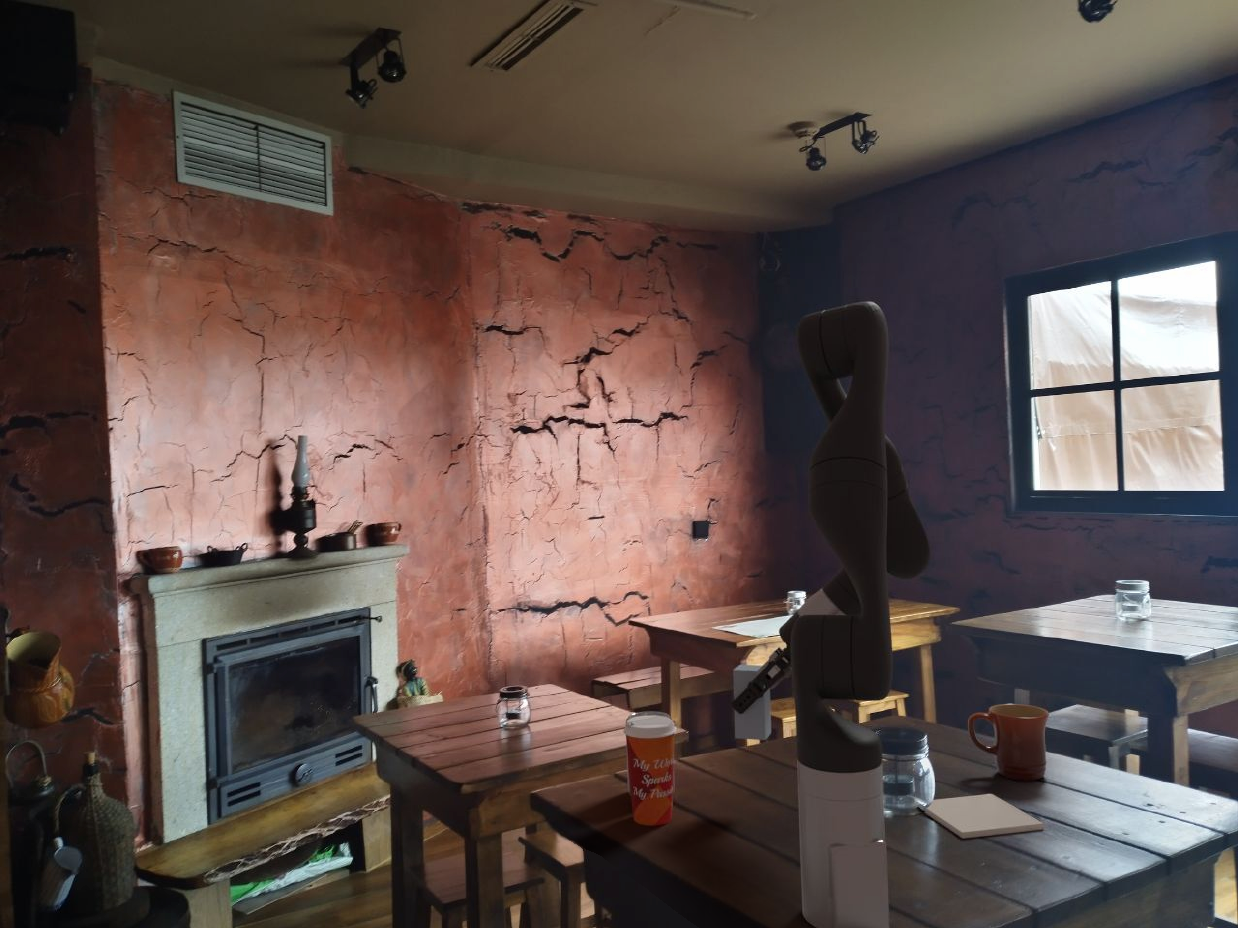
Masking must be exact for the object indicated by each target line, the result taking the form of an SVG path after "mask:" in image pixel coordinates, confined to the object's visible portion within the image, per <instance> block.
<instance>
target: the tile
mask: <svg viewBox="0 0 1238 928" xmlns="http://www.w3.org/2000/svg"><path fill="white" fill-rule="evenodd" d="M932 800H933V802H932V804H931V805H930V806H929V807H928V808H926V811H925V812H924V813H925V814H926V815H927V816H929V817H931V818H932V819H933V820H935V821H936V822H938V823H940V824H941V825H942V826H943V827H945V828H947V829H948V830H950V832H953V833H954V834H956V835H957V836H958V837H960V838H961V839H963V840H964V839H970V838H972V839H973V838H979V837H980V838H981V837H988V836H989V837H990V836H998V835H1006V834H1007V835H1008V834H1014V833H1022V832H1023V833H1024V832H1025V833H1026V832H1032V831H1040V830H1041V831H1042V830H1044V829H1045V828H1044V823H1043V822H1042V821H1040V820H1038V819H1036V818H1035V817H1033V816H1031V815H1029V814H1028V813H1026V812H1024V811H1022V810H1021V809H1020V808H1017V807H1015V806H1013V805H1012V804H1010V802H1007V801H1005V800H1003V799H1001V798H1000V797H999V796H997V795H995V794H993V793H985V794H978V795H968V796H958V797H948V798H947V797H946V798H938V799H932Z"/></svg>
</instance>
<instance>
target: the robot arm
mask: <svg viewBox="0 0 1238 928" xmlns="http://www.w3.org/2000/svg"><path fill="white" fill-rule="evenodd" d="M888 331H889V329H888V324H887V320H886V316H885V314H884V312H883V310H882V309H881V307H880V306H879V305H878V304H876V303H875V302H874V301H860V302H854V303H849V304H846V305H842V306H841V305H840V306H837V307H832V308H829V309H825V310H821V311H816V312H813V313H809V314H807V315H804V317H802V318H800V320H799V323H798V325H797V330H796V344H797V346H796V347H797V352H798V355H799V358H800V361H801V366H802V367H803V369H804V373H805V375H806V377H807V379H808V381H809V384H810V385H811V388H812V390H813V394H814V395H815V397H816V399H817V401H818V403H819V405H820V406H819V407H820V408H821V410H822V412H823V414H824V416H825V418H826V421H827V422H828V424H829V425H828V426H827V428H826V429H825V431H824V432H823V433H822V435H821V437H820V439H819V440H818V442H817V443H816V445H815V447H814V449H813V452H812V454H811V457H810V461H809V465H808V496H807V497H808V498H807V499H808V502H807V503H808V505H807V506H808V513H809V515H810V517H811V520H812V521H813V523H814V525H815V527H816V529H817V531H818V532H819V533H820V535H821V536H822V538H823V540H824V541H825V542H826V544H827V545H828V547H829V548H830V550H831V551H832V552H833V553H834V554H835V556H836V557H837V559H838V560H839V562H840V564H841V565H842V568H841V569H839V571H837V572H836V573H835V574H834V575H833V576H832V577H831V578H830V579H829V580H828V581H827V582H826V583H824V585H823V586H822V587H821V588H820V589H819V590H818V591H816V592H815V593H814V594H813V595H811V596H810V597H809V598H808V599H807V600H806V601H805V602H804V603H803V604H802V605H801V606H800V607H799V608H798V609H797V611H795V612H794V613H793V614H792V615H791V616H790V617H789V618H788V620H786V622H784V623H783V625H782V626H781V627H779V630H778V634H779V636H780V639H781V641H782V642H784V643H785V644H786V646H785V647H784V648H781V646H779V647H778V648H777V649H775V650H774V651H773V652H772V653H771V654H770V656H768V660H767V661H766V662H764V663H763V664H762V665H761V666H762V667H761V668H760V669H759V670H758V671H757V677H756V678H755V679H754V680H753V681H752V682H751V681H750V682H749V683H748V686H747V688H746V689H745V690H744V691H743V692H742V693H741V694H740V695H739V696H738V697H737V698H736V699H735V700H734V699H733V701H732V702H731V707H732V708H733V709H735V710H736V711H737V712H738V713H739V714H743V713H744V712H745V711H746V710H747V709H748V708H749V707H750V706H751V705H752V704H753V703H754V702H755V701H756V700H757V699H759V698H760V697H761V698H762V697H763V696H764V695H763V694H764V693H765V692H766V691H767V690H768V689H769V688H770V690H771V689H772V690H773V689H775V688H776V687H777V686H778V685H779V684H780V683H781V682H782V681H783V680H784V679H785V678H787V677H789V676H792V686H793V698H794V708H795V709H794V710H795V735H796V761H797V762H796V763H797V765H796V766H797V797H798V799H797V800H798V801H797V803H798V823H799V827H798V828H799V829H798V830H799V855H800V856H799V857H800V858H799V859H800V879H801V880H800V881H801V885H800V886H801V908H802V909H801V911H802V912H801V913H802V916H803V918H804V919H805V921H807V923H809V924H810V925H812V927H815V928H890V915H889V914H890V911H889V909H890V908H889V882H888V881H889V879H888V857H887V856H888V855H887V854H888V853H887V852H888V851H887V844H886V843H887V842H886V833H885V805H884V803H885V802H884V774H883V772H884V769H883V746H882V741H881V738H880V736H879V735H878V734H877V733H876V732H875V731H873V730H872V729H870V728H868V727H865V726H863V725H862V724H858V723H856V722H853V721H851V720H849V719H847V718H845V717H843V716H842V715H840V714H839V713H838V712H836V711H834V710H833V708H831V707H830V706H829V704H827V702H826V700H844V701H859V702H861V701H863V702H864V701H866V702H868V701H869V702H876V701H877V702H879V701H883V700H885V699H886V698H887V697H888V696H889V693H890V692H891V688H892V683H893V682H892V681H893V672H894V670H893V667H894V666H893V665H894V664H893V663H894V660H893V659H894V658H893V655H894V654H893V639H892V626H891V616H890V615H891V613H890V601H889V587H888V586H889V585H888V574H889V575H890V576H892V577H894V578H896V579H900V580H912V579H915V578H917V577H919V576H921V575H922V574H923V573H924V572H925V570H927V567H928V565H929V563H930V562H931V561H930V560H931V546H930V541H929V538H928V536H927V533H926V530H925V527H924V525H923V522H922V521H921V519H920V518H921V517H920V516H919V514H918V512H917V509H916V507H915V505H914V503H913V501H912V498H911V494H910V489H909V485H908V481H907V478H906V474H905V470H904V468H903V467H904V466H903V464H902V461H901V457H900V455H899V452H898V449H896V447H895V445H894V444H893V442H892V441H891V439H890V438H889V437H888V436H887V434H886V425H885V424H886V421H885V419H886V418H885V415H886V398H887V397H886V396H887V395H886V394H887V383H888V381H887V380H888V369H889V368H888V367H889V351H890V350H889V349H890V347H889V346H890V345H889V343H890V342H889V332H888ZM848 377H852V378H851V384H850V387H849V390H848V393H846V392H845V390H844V388H843V386H842V383H841V381H840V379H843V378H848ZM757 680H760V681H761V682H762V683H763V684H764V685H765V688H764V689H763V690H762V689H761V688H760V687H759V686H758V685H757V684H756V683H755V682H756V681H757Z"/></svg>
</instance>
